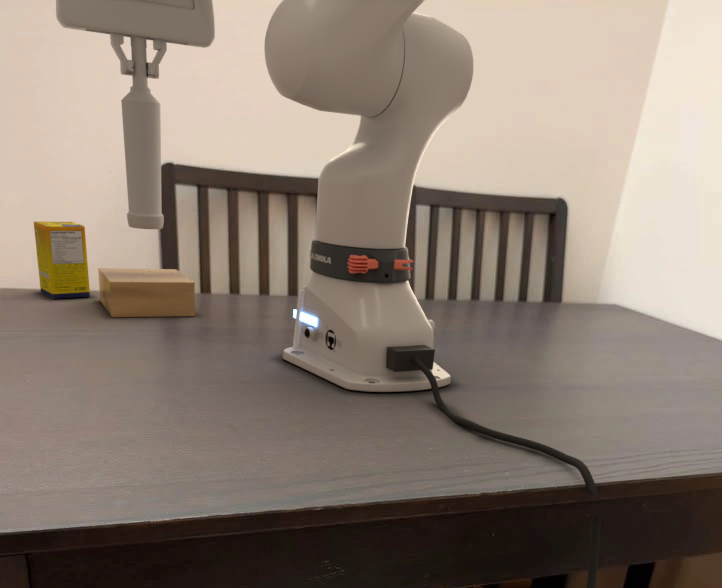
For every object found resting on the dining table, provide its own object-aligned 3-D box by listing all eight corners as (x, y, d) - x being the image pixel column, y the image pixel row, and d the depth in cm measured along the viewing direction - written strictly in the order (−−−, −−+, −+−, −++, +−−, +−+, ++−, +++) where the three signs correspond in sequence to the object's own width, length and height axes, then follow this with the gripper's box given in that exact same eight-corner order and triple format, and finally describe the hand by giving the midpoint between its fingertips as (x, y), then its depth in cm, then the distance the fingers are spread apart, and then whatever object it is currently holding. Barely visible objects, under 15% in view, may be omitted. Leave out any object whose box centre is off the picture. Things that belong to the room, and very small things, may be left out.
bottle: (127, 224, 109) (117, 30, 99) (162, 226, 110) (157, 35, 100) (127, 228, 104) (117, 25, 94) (165, 230, 106) (159, 30, 96)
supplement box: (76, 290, 120) (71, 221, 116) (90, 297, 116) (85, 225, 112) (39, 292, 116) (32, 220, 112) (52, 299, 112) (46, 225, 108)
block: (195, 316, 110) (194, 282, 108) (112, 317, 105) (109, 281, 103) (177, 300, 119) (176, 269, 117) (100, 300, 114) (98, 268, 112)
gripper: (50, -68, 87) (60, 65, 92) (218, -35, 96) (218, 84, 101) (46, -57, 92) (56, 68, 98) (206, -27, 101) (206, 86, 106)
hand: (140, 76), depth 99 cm, fingers closed on bottle, 2 cm apart
